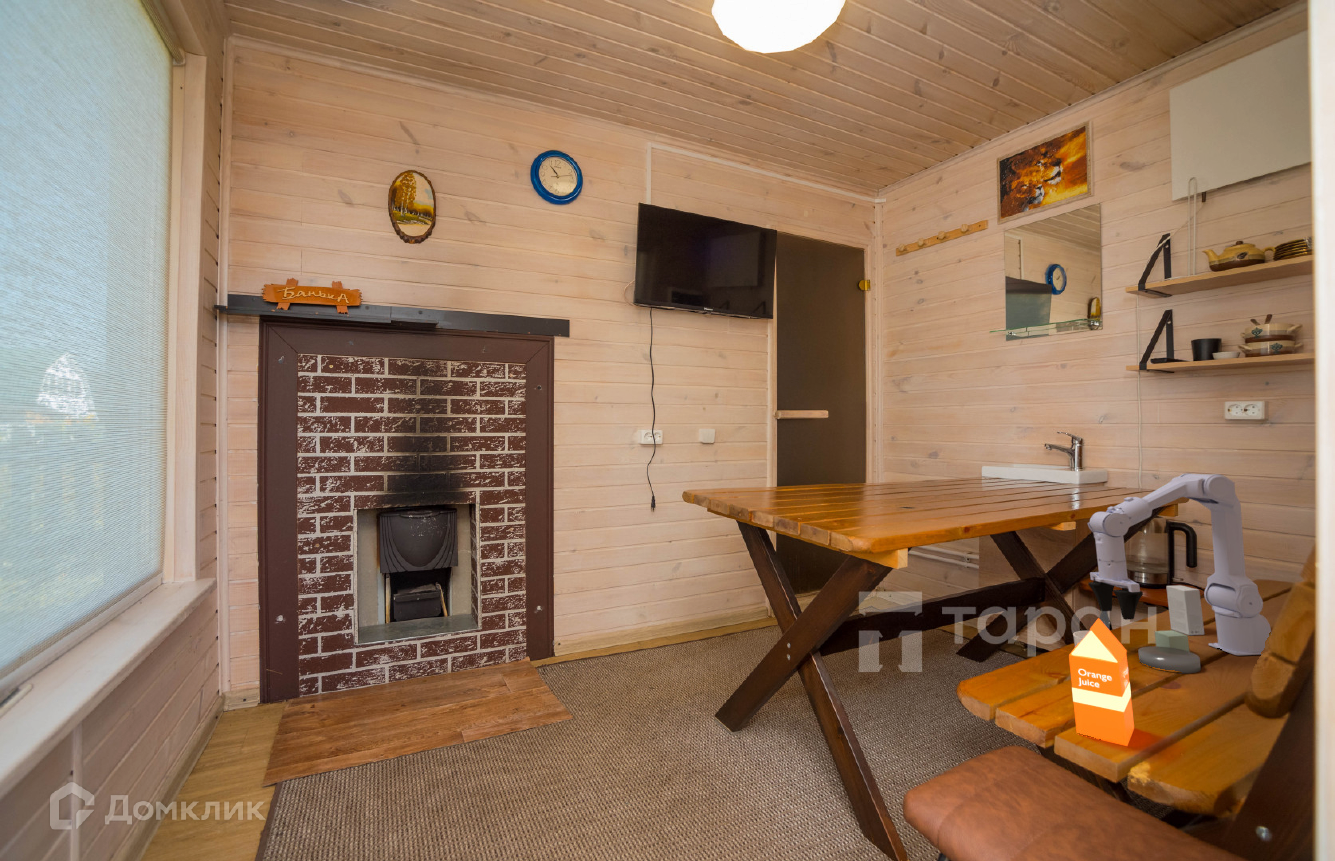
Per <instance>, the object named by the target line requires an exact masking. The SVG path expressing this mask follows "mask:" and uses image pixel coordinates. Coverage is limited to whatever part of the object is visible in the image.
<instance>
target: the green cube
mask: <svg viewBox="0 0 1335 861" xmlns="http://www.w3.org/2000/svg"><path fill="white" fill-rule="evenodd" d="M1154 637H1155V638H1154V640H1155V646H1159V647H1170V648H1176V649H1181V650H1185V651H1189V652H1190V646H1189V645H1190V644H1189V635H1187V634H1184V633H1181V632H1178V631H1175V630H1172V629H1170V630H1155V631H1154Z"/></svg>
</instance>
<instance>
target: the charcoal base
mask: <svg viewBox="0 0 1335 861" xmlns="http://www.w3.org/2000/svg"><path fill="white" fill-rule="evenodd" d="M1138 659H1139V660H1140V661H1139V663H1140V662H1141V663H1143V664H1146V665H1148V666H1151V667H1155V668H1160V669H1165V670H1175V671H1180V672H1182V673H1181V674H1195V673H1198V672H1200V671H1201V670H1202V668H1201V658H1200V656H1199V655H1198V654H1196V653H1193V652H1191V651H1190V650H1189V651H1185V650H1181V649H1176V648H1170V647H1159V646H1156V645H1155V646H1143V647H1140V648H1138ZM1141 663H1140V664H1141ZM1143 664H1142V665H1143Z"/></svg>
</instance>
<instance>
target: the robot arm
mask: <svg viewBox="0 0 1335 861" xmlns="http://www.w3.org/2000/svg"><path fill="white" fill-rule="evenodd" d="M1180 498H1186V499H1188V500H1192V501H1195V502H1197V503H1199V504H1201V505H1202V506H1204V507H1205V508H1206V509H1208V510H1209V511H1210V521H1211V534H1212V547H1213V549H1212V552H1213V564H1214V566H1213V567H1214V573H1212V574H1211V575H1210V576H1208V577H1207V579H1206V582H1207V583H1206V587H1205V589H1204V593H1203V594H1204V595H1203V596H1204V599H1205V601H1206V603H1207V604H1208V605H1210V606H1211V610H1212V611H1214V617H1215V626H1216V636H1217V642H1213V643H1212V642H1209V643H1208V647H1209V646H1210V647H1213V648H1214V649H1217V648H1220V649H1222V650H1221V651H1222V652H1223V651H1224V652H1227V653H1229V654H1232V655H1234V656H1252V655H1253V656H1255V655H1256V656H1257V655H1262V654H1261V652H1262V651H1263V650H1264V648H1265V641H1266V640H1267V638H1268V637H1269V633H1270V632H1271V633H1272V629H1271V625H1270V623H1269V620H1268V619H1267V618H1266V617H1265V616H1264V615H1262V614H1260V613H1261V612H1262V610H1263V607H1264V601H1263V598H1262V597H1261V595H1260V593H1259V590H1258V589H1259V588H1258V587H1259V586H1258V585H1257V584H1256V583H1255V582H1254V581H1253V580H1252V579H1251V578H1249V577H1248V576H1247V575H1246V563H1245V561H1246V560H1245V550H1244V549H1245V547H1244V535H1243V534H1244V533H1243V519H1242V505H1241V501H1240V500H1239V497H1238V496H1237V494H1236V484H1235V482H1234V481H1233V480H1231V479H1230V478H1228V477H1226V476H1225V475H1224V474H1219V473H1215V474H1214V473H1213V474H1205V473H1201V474H1200V473H1190V472H1189V473H1187V472H1186V473H1182V474H1180V475H1179V476H1175V477H1173V478H1171V480H1170V481H1169V482H1167V483H1166V484H1164V485H1163V486H1161V487H1159V488H1158V489H1155V490H1154V491H1152V492H1150V493H1148V494H1147V495H1145V496H1143V497H1138V496H1127V497H1125V498H1123V500H1124V501H1123V502H1121V503H1118V504H1117V505H1114V506H1109V507H1107V510H1106V511H1097V512H1094V513H1093V514H1092V515H1091V517H1090V519H1089V522H1087V526H1088V529H1089V530H1090V531H1091V532H1092V533H1093V538H1094V540H1095V550H1096V559H1097V566H1098V571H1095V572H1094V571H1093V572H1089V575H1090V576H1089V577H1090V580H1091V582H1088V586H1089V588H1090V589H1091V590H1092V592H1093V593H1094V595H1095V598H1096V600H1097V602H1098V605H1099V608H1100V610H1101V611H1102V612H1112V610H1113V594H1114V595H1115V597H1116V598H1117V601H1118V604H1119V607H1120V613H1121V616H1122V619H1123V620H1125V621H1126V620H1127V621H1128V620H1134V619H1135V614H1136V609H1137V606H1138V604H1139V602H1140V600H1141V598H1142V597H1143V595H1144V592H1143V591H1141V589H1140V588H1141V587H1140V583H1137V582H1135V581H1134V580H1132V579H1131V578H1129V577H1128V576H1129V575H1128V570H1127V569H1128V568H1127V559H1126V551H1125V550H1126V549H1125V540H1124V536H1125V535H1126V534H1127V533H1128V531H1129V528H1130V527H1132V526H1134V525H1137V524H1138V523H1140V522H1142V521H1145V520H1147V519H1148V518H1151V517H1152V514H1153V510H1154V509H1157V508H1160V507H1162V506H1164V505H1167V504H1169V503H1171V502H1173V501H1176V500H1177V499H1180ZM1092 581H1093V582H1092ZM1115 587H1117V588H1120V589H1115ZM1220 649H1219V650H1220Z"/></svg>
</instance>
